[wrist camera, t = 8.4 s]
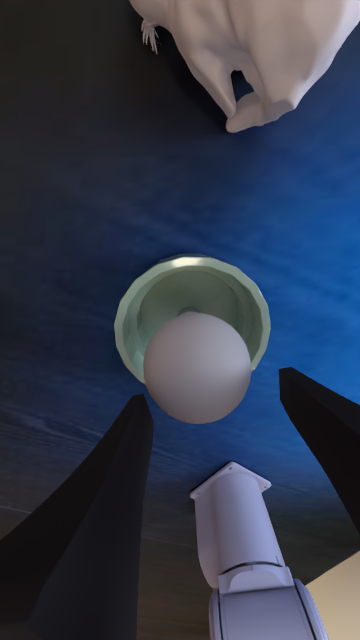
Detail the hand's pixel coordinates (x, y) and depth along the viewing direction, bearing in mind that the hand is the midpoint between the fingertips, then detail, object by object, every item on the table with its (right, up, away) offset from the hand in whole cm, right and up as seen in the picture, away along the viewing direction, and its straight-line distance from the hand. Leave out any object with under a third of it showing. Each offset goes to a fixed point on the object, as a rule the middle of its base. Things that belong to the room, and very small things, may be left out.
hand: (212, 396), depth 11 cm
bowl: (-1, +5, +9) cm, 10 cm away
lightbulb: (-1, +4, +9) cm, 10 cm away
